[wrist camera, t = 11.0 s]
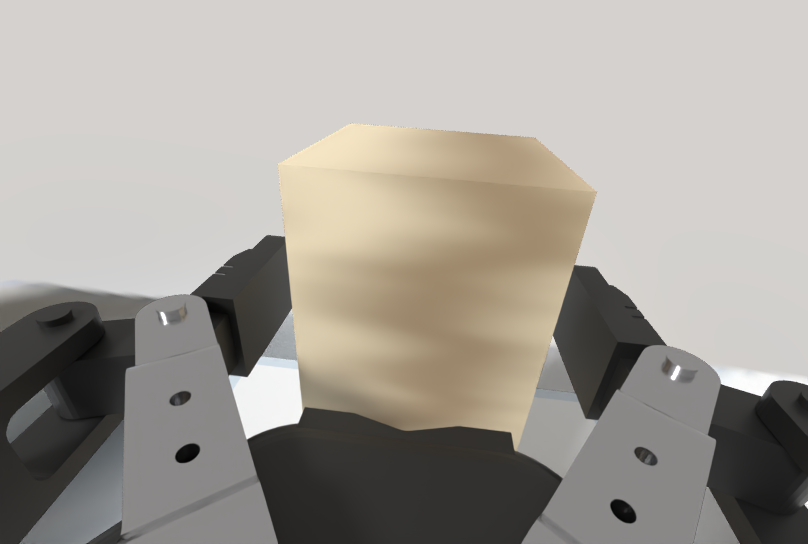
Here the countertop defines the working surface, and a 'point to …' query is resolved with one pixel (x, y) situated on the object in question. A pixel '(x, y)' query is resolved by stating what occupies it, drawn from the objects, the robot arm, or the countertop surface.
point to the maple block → (428, 272)
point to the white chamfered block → (541, 440)
